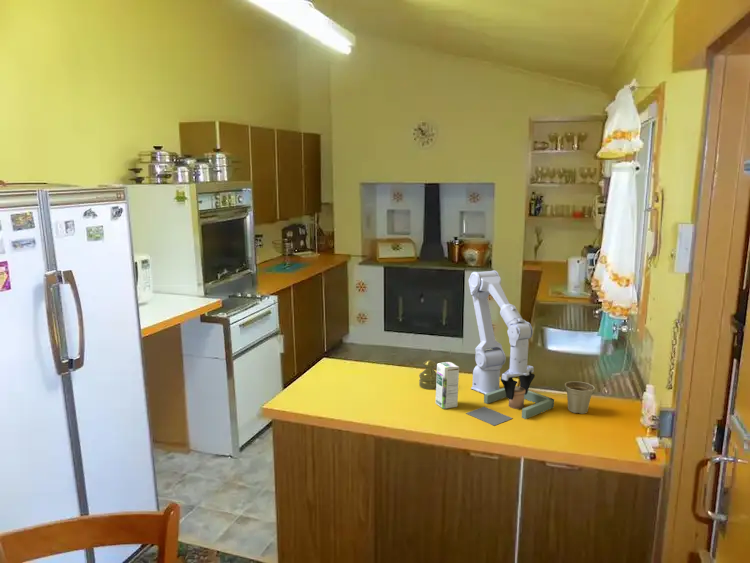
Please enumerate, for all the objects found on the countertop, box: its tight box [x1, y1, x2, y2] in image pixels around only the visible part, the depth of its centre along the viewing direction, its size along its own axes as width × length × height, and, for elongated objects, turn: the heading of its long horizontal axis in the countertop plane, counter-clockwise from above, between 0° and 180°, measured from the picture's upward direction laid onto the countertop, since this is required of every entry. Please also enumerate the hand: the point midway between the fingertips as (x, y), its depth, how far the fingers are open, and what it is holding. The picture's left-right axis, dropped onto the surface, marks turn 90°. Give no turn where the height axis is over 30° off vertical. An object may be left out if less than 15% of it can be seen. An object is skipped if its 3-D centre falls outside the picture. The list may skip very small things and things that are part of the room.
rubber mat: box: [465, 406, 513, 427], centre depth 185 cm, size 12×9×1 cm
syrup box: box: [435, 361, 460, 410], centre depth 192 cm, size 6×6×14 cm
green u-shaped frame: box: [483, 385, 555, 420], centre depth 194 cm, size 18×16×3 cm
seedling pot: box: [508, 385, 526, 410], centre depth 193 cm, size 6×6×6 cm
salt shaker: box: [418, 359, 437, 390], centre depth 211 cm, size 7×7×10 cm
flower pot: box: [564, 380, 596, 415], centre depth 189 cm, size 9×9×9 cm
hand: (516, 396), depth 193 cm, fingers open, 7 cm apart
